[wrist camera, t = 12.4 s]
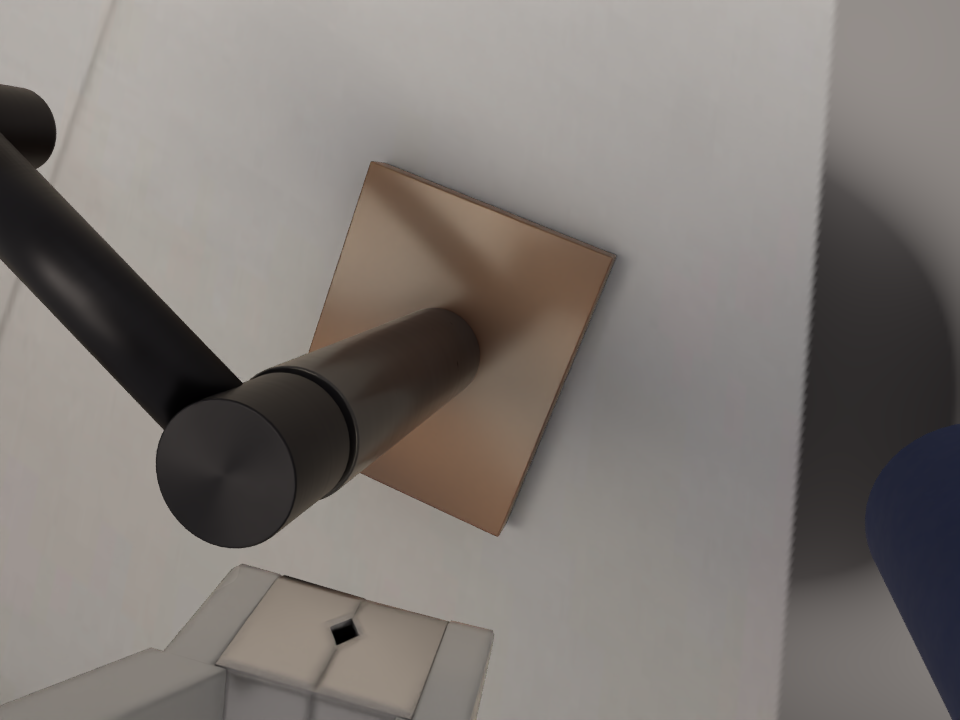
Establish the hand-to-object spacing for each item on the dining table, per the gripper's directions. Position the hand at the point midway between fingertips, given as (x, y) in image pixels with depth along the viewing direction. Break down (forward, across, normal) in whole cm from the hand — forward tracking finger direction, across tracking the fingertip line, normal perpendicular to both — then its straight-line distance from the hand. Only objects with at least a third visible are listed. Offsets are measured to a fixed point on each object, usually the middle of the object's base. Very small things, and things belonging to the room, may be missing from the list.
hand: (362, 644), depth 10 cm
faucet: (+25, +4, +6) cm, 26 cm away
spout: (+13, +9, +1) cm, 16 cm away
